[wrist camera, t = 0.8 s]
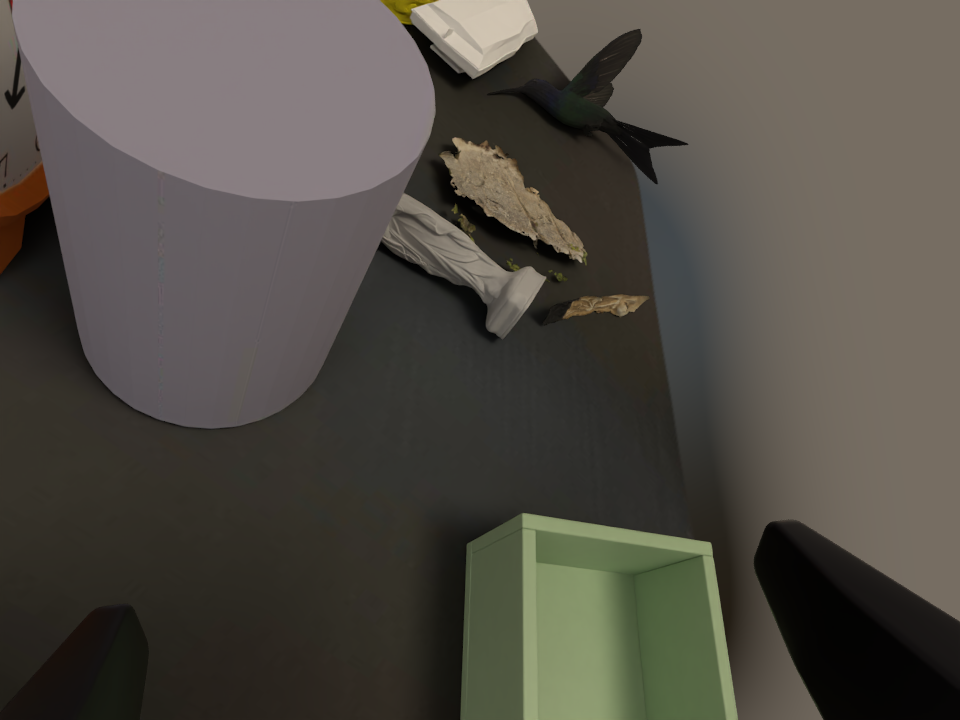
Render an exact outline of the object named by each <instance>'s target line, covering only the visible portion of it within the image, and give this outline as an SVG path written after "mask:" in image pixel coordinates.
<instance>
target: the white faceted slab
mask: <svg viewBox="0 0 960 720" xmlns="http://www.w3.org/2000/svg"><path fill="white" fill-rule="evenodd" d="M411 11H412V14H411V16H410V19H411V20H412V22H411V23H412V24H414V25H415V26H416V27H417V28H418V29H419V30H420V31H421V32H422V33H423V34H424V35H426V36H427V37H428V38H429V39H430V40H431V41H432V42H433V43H434V44H433V45H431V46H430V48H431V49H432V50H433V51H434V52H435V53H437V54H438V55H439V56H440V57H441V58H442V59H443V60H444V61H445V62H446V63H448V64H449V65H450V66H451V67H452V68H453V69H454V70H455V71H456V72H457V73H462V72H466V73H467V74H468V75H469V76H470V77H471V78H472V79H474V78H476V77H478V76H480V75H482V74H483V73H485V72H487V71H488V70H490V69H491V68H493V67H494V66H495V65H497V64H498V63H500V62H502V61H504V60H506V59H508V58H510V57H511V56H513V55H514V54H515V53H516V51H517V50H519V48H520V47H521V45H522V44H523V43H525V42H527V41H529V40H531V39H533V38H534V36H535V35H536V34H537V33H538V30H537V25H536V22H535V19H534V17H533V14H532V12H531V10H530V7H529V5H528V2H527V0H439V1H436V2H433V3H428V4H425V5H422V6H419V7H416V8H413V9H411Z"/></svg>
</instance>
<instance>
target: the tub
mask: <svg viewBox="0 0 960 720" xmlns="http://www.w3.org/2000/svg"><path fill="white" fill-rule="evenodd" d="M712 555H713V553H712V546H711V543H710V542H704V541H698V540H691V539H685V538H679V537H672V536H666V535H660V534H653V533H647V532H641V531H634V530H628V529H622V528H615V527H609V526H603V525H596V524H590V523H584V522H577V521H571V520H565V519H558V518H552V517H546V516H539V515H533V514H527V513H522V514H520V515H518V516H516V517H514V518H513V519H511V520H509V521H507V522H505V523H504V524H502V525H500V526H498V527H496V528H495V529H493V530H491V531H489V532H487V533H486V534H484V535H482V536H480V537H478V538H477V539H475V540H473V541H471V542H469V543H468V544H467V554H466V581H465V608H464V635H463V662H462V689H461V716H460V720H738V717H737V710H736V704H735V697H734V691H733V684H732V678H731V672H730V664H729V658H728V651H727V645H726V638H725V631H724V625H723V618H722V612H721V606H720V599H719V592H718V585H717V579H716V573H715V566H714V559H713V557H711V556H712Z"/></svg>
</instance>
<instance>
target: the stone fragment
mask: <svg viewBox="0 0 960 720" xmlns="http://www.w3.org/2000/svg"><path fill="white" fill-rule="evenodd" d="M452 140H453V142H454V144H455V146H456V147H457V149H458V152H455V153H459V154H457V155H455V159H454V156H453V154H451V153H450V152H451V151H447V152H445V151H444V152H442V153H441V154H439V155H440V157H442V159H444V161H445V162H446V163H447V164H448V165H449V166H450V167H449V166H448V165H447V164H446V163H445V164H446V166H447V167H448V168H449V171H450V172H449V174H450V175H451V176H452V177H453V179H452V180H451V182H450V183H452V182H455V185H456V186H457V187H458V190H455V192H456V193H457V194H458V195H462V194H464V195H466V196H467V197H469V198H470V199H472V200H473V199H475V202H476V204H478V205H480V206H481V207H482V208H483V209H484V213H486V215H487V216H488V217H489V216H494V217H495V218H497V219H498V220H499V221H500V222H502V223H503V224H505V225H506V226H507V227H508V228H509V229H511V230H515V231H516V232H518V233H521V234H522V235H525V234H526V235H527V236H528V234H529V236H530V237H531V238H532V240H533V241H534V242H533V245H534V247H535V248H536V249H537V247H536V246H535V245H536V243H537V240H538V239H541V240H542V241H544V242H545V243H547V244H548V245H549V244H551V245H553V247H554V248H555V250H556V251H557V252H558V253H559V252H564V253H565V254H569V259H570V258H573V260H574V259H578V260H579V261H580V262H581V263H582V261H585V262H586V259H585V256H586V255H587V253H586V252H585V250H584V249H582V247H584V246H583V243H582V242H581V241H580V239H579V238H578V237H577V235H576V233H574V232H571V231H570V228H569V227H567V226H566V224H565V223H564V222H563V221H559V220H558V219H557V220H556V218H555V216H554V215H553V214H552V213H551V210H550V208H549V206H548V205H547V204H546V203H545V202H544V201H542V200H541V199H540V198H539V197H538V196H539V195H537V193H539V192H538V191H537V190H536V189H534V188H532V187H530V189H529V188H526V189H525V187H524V184H523V182H524V179H523V176H522V175H521V173H520V171H519V169H518V165H517V160H516V159H510V158H508V159H507V158H506V157H507V155H509V154H508V153H506V154H504V153H503V151H502V150H501V148H500V147H498V146H496V149H494V150H492V149H491V147H490V145H489V143H488V142H487V141H486V140H485V142H484V143H481V145H479V144H477V145H475V144H474V143H473V144H472V142H471V141H469V142H467V141H465V140H464V139H463V138H462V139H461V138H455V137H454V139H452ZM496 154H498V155H499V156H502V157H503V158H504V160H503V159H502V158H501V159H499V158H498V157H497V156H496ZM446 159H447V160H446ZM470 171H471V172H470ZM470 173H471V174H470ZM522 181H523V182H522ZM451 185H453V187H454V186H455V185H454V184H451ZM454 188H455V187H454ZM496 191H497V193H496ZM531 191H533V192H536V194H533V192H531ZM459 193H460V194H459ZM462 196H463V195H462ZM463 197H465V196H463ZM487 198H488V199H487ZM489 199H490V200H489ZM491 200H492V201H495V202H497V203H498V204H495V203H494V202H492V201H491ZM455 204H456V203H455ZM451 211H454V213H458V212H457V211H458V207H457V205H455V208H454V209H452V210H451ZM459 216H461V219H458V221H460V220H461V227H462V228H463V230H464V232H465V233H466V234H467V235H468V237H469V238H470V239H471V240H472V241H473V242H474V239H473V238H472V237H471V236H470V235H471V234H469V233H470V232H472V231H474V230H475V225H473V224H469V222H470V221H469V222H468V220H466V217H465V216H463V215H462V214H461V215H459ZM455 224H457V223H455ZM463 230H461V231H463ZM466 231H469V233H468V232H466ZM522 231H524V232H525V234H523V233H522ZM526 235H525V236H526ZM542 238H545V239H542ZM557 247H558V249H557ZM537 254H538V253H537ZM581 257H582V258H584V260H581V259H582V258H581ZM510 260H511V261H512V259H511V258H510ZM585 264H586V263H585ZM507 265H510V268H512V270H514V271H517V270H520V268H519V266H517V265H518V264H516V265H512V264H511V263H510V261H509V262H507ZM518 268H519V269H518ZM549 271H554V270H549ZM552 273H553V272H552ZM555 275H556V273H555ZM558 278H560V281H562V280H564V281H566V280H567V278H566V277H565V276H564V277H563V276H562V274H561V273H559V274H557V279H558ZM545 280H546V281H548V280H547V279H545ZM558 281H559V279H558ZM560 281H559V282H560ZM548 282H549V281H548Z"/></svg>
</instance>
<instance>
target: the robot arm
mask: <svg viewBox="0 0 960 720" xmlns="http://www.w3.org/2000/svg"><path fill="white" fill-rule="evenodd" d="M754 569H755V573H756V576H757V578H758V581H759V583H760V585H761V588H762V590H763V592H764V595H765V597H766V599H767V602H768V604H769V606H770V609H771V611H772V614H773V616H774V618H775V621H776V623H777V625H778V628H779V630H780V632H781V635H782V637H783V639H784V642H785V644H786V647H787V649H788V651H789V654H790V656H791V658H792V660H793V662H794V665H795V667H796V669H797V671H798V673H799V675H800V677H801V679H802V680H803V683H804V684H805V686H806V688H807V690H808V692H809V694H810V696H811V697H812V699H813V701H814V703H815V705H816V707H817V709H818V710H819V712H820V714H821V716H822V718H823V720H960V622H959V621H958V620H957V619H955V618H953V617H952V616H950V615H949V614H947V613H945V612H944V611H942V610H941V609H939V608H937V607H936V606H934V605H933V604H931V603H929V602H928V601H926V600H924V599H923V598H921V597H920V596H918V595H917V594H915V593H913V592H912V591H910V590H909V589H907V588H905V587H904V586H902V585H901V584H899V583H897V582H896V581H894V580H893V579H891V578H889V577H888V576H886V575H884V574H883V573H881V572H880V571H878V570H876V569H875V568H873V567H872V566H870V565H868V564H867V563H865V562H864V561H862V560H861V559H859V558H857V557H856V556H854V555H852V554H851V553H849V552H848V551H846V550H844V549H843V548H841V547H840V546H838V545H837V544H835V543H833V542H832V541H830V540H828V539H827V538H825V537H824V536H822V535H821V534H819V533H817V532H816V531H814V530H813V529H811V528H809V527H807V526H806V525H805V524H803V523H801V522H799V521H797V520H782V521H775V522H770V523H769V524H768V525H767V526H766V528H765V530H764V532H763V535H762V538H761V540H760V543H759V546H758V548H757V551H756V554H755V557H754ZM148 655H149V650H148V642H147V639H146V637H145V634H144V632H143V630H142V627H141V625H140V622H139V620H138V617H137V615H136V613H135V610H134V609H133V607H132V606H131V605H129V604H119V605H112V606H104V607H99V608H97V609H95V610H93V611H92V612H91V613H90V614H89V615H88V616H87V617H86V618H85V619H84V620H83V621H82V622H81V623H80V624H79V626H78V627H77V628H76V629H75V630H74V631H73V632H72V633H71V634H70V635H69V637H68V638H67V639H66V640H65V641H64V642H63V643H62V644H61V645H60V647H59V648H58V649H57V650H56V651H55V652H54V653H53V654H52V655H51V656H50V658H49V659H48V660H47V661H46V662H45V663H44V664H43V665H42V666H41V668H40V669H39V670H38V671H37V672H36V673H35V674H34V675H33V676H32V677H31V679H30V680H29V681H28V682H27V683H26V684H25V685H24V686H23V687H22V689H21V690H20V691H19V692H18V693H17V694H16V695H15V696H14V697H13V698H12V700H11V701H10V702H9V703H8V704H7V705H6V706H5V707H4V708H3V710H2V711H1V712H0V720H140V713H141V706H142V699H143V693H144V686H145V679H146V672H147V665H148Z"/></svg>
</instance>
